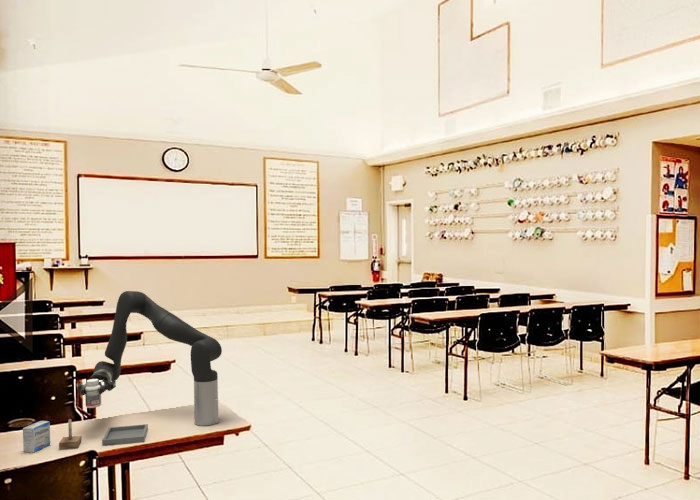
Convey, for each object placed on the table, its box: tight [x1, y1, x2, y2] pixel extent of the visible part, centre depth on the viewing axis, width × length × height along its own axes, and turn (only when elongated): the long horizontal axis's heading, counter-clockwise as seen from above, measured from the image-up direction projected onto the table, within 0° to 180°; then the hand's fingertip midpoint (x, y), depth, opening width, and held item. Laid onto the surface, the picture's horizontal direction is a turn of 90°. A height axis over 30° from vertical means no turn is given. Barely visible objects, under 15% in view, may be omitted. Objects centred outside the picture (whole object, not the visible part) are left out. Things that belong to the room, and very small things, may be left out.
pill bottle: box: [84, 378, 102, 409], centre depth 206 cm, size 5×5×10 cm
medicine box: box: [22, 420, 51, 454], centre depth 195 cm, size 8×4×9 cm, turn 168°
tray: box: [101, 423, 149, 447], centre depth 206 cm, size 14×14×2 cm
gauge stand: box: [58, 418, 82, 451], centre depth 197 cm, size 6×6×10 cm
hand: (91, 391), depth 204 cm, fingers closed on pill bottle, 5 cm apart
